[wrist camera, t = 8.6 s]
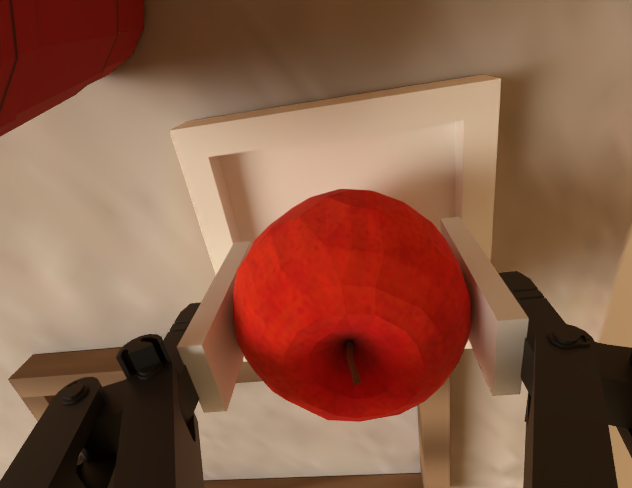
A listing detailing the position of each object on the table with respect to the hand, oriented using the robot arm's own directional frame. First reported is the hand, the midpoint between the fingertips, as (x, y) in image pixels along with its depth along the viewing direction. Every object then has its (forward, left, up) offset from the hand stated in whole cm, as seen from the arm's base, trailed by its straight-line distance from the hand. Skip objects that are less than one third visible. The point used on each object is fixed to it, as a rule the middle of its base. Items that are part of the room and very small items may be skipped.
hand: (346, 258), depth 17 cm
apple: (0, 0, -1) cm, 1 cm away
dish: (0, 0, -3) cm, 3 cm away
